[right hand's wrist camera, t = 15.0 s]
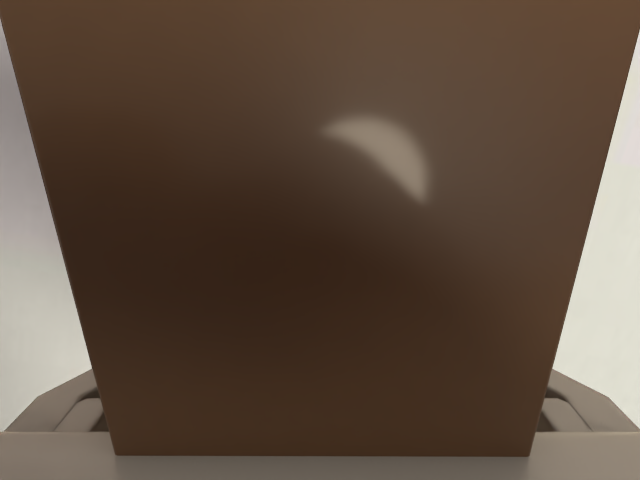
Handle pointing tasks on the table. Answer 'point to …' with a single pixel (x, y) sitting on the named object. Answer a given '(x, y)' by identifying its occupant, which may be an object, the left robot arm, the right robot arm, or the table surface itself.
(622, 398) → the table surface
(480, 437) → the bar
